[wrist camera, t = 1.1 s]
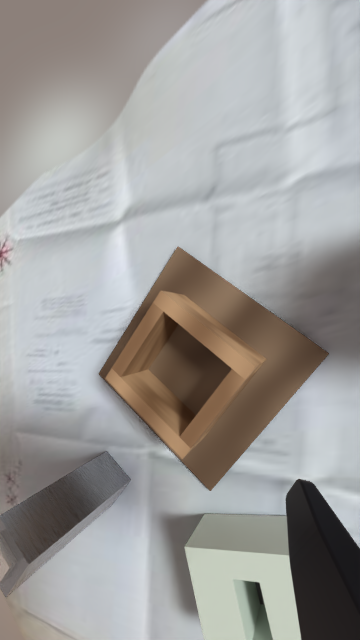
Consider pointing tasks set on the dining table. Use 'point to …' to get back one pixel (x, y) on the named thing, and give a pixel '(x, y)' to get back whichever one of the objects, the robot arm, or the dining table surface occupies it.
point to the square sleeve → (207, 366)
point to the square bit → (55, 518)
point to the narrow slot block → (243, 577)
